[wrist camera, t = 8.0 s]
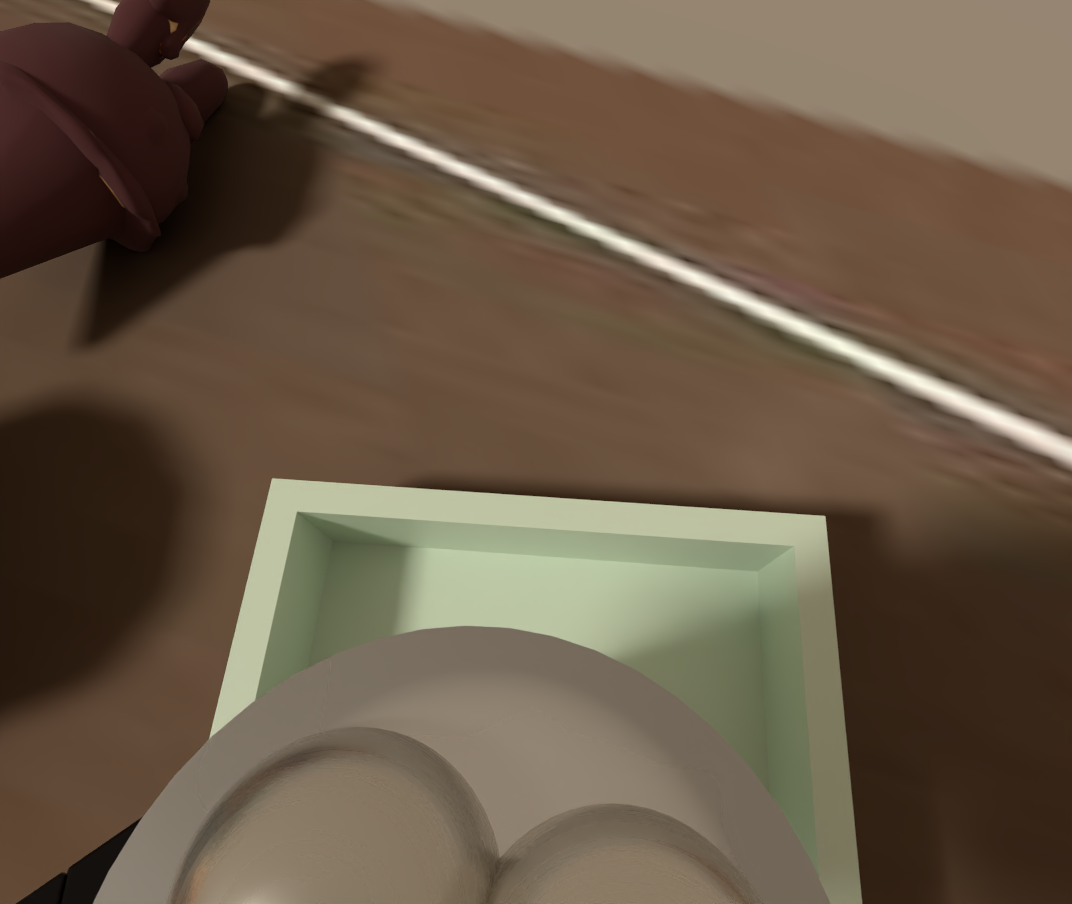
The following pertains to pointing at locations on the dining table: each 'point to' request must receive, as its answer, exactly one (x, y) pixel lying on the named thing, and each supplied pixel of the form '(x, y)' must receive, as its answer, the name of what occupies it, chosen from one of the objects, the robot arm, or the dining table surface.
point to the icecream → (98, 129)
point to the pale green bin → (578, 613)
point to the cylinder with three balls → (465, 790)
